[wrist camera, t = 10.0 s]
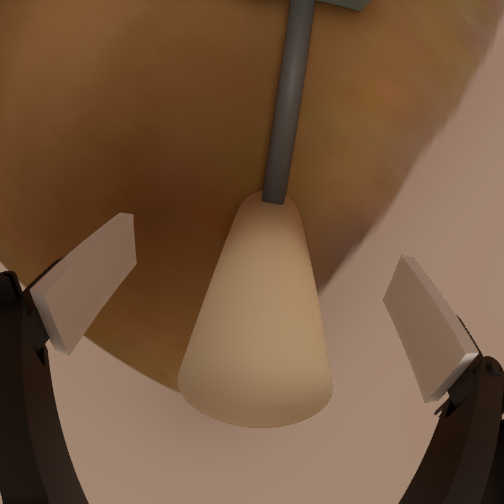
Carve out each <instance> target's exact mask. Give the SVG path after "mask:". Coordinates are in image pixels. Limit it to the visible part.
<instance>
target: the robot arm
mask: <svg viewBox="0 0 504 504" xmlns="http://www.w3.org/2000/svg"><path fill="white" fill-rule="evenodd" d="M136 264H137V261H136V250H135V237H134V221H133V214H128V213H119V214H117V215H116V216H115V217H113V218H112V219H111V220H109V221H108V222H107V223H106V224H104V225H103V226H102V227H100V228H99V229H98V230H97V231H95V232H94V233H93V234H92V235H90V236H89V237H88V238H87V239H85V240H84V241H83V242H82V243H81V244H79V245H78V246H77V247H76V248H75V249H73V250H72V251H71V252H70V253H69V254H68V255H67V256H64V257H62V258H60V259H58V260H56V261H55V262H54V263H53V264H51V265H50V266H49V267H48V269H46V270H45V271H44V272H43V273H42V274H40V275H39V276H38V277H37V278H36V279H35V280H34V281H33V282H32V283H31V284H30V285H29V286H28V287H27V288H26V289H25V290H24V291H23V292H22V289H21V286H20V284H19V281H18V278H17V275H16V273H15V272H13V271H4V272H1V273H0V492H1V496H2V501H3V504H89V503H88V501H87V499H86V497H85V495H84V492H83V490H82V488H81V485H80V483H79V480H78V478H77V475H76V472H75V470H74V467H73V464H72V461H71V458H70V456H69V452H68V449H67V446H66V443H65V439H64V436H63V432H62V428H61V424H60V421H59V417H58V412H57V407H56V403H55V397H54V393H53V387H52V380H51V374H50V367H49V359H48V350H47V348H46V345H45V343H46V342H47V341H48V339H50V341H51V343H52V345H53V347H54V349H55V350H58V351H60V352H62V353H64V354H67V355H70V354H71V352H72V350H73V349H74V348H75V346H76V345H77V343H78V342H79V340H80V339H81V337H82V336H83V334H84V333H85V332H86V330H87V329H88V327H89V326H90V324H91V323H92V322H93V320H94V319H95V317H96V316H97V315H98V313H99V312H100V311H101V309H102V308H103V306H104V305H105V304H106V302H107V301H108V300H109V298H110V297H111V296H112V294H113V293H114V292H115V291H116V289H117V288H118V287H119V285H120V284H121V283H122V281H123V280H124V279H125V278H126V276H127V275H128V274H129V273H130V271H131V270H132V269H133V268H134V266H135V265H136ZM383 301H384V303H385V305H386V308H387V310H388V312H389V314H390V316H391V319H392V321H393V323H394V325H395V327H396V330H397V332H398V334H399V337H400V339H401V341H402V344H403V346H404V348H405V351H406V353H407V356H408V358H409V361H410V364H411V366H412V369H413V371H414V374H415V377H416V379H417V382H418V385H419V388H420V391H421V393H422V396H423V399H424V402H425V403H426V402H433V401H438V400H439V399H440V398H441V397H442V396H443V395H444V394H445V393H446V392H447V391H448V394H449V396H450V397H449V398H448V399H447V400H446V401H445V402H444V403H443V404H442V406H440V407H439V408H438V409H437V410H436V412H435V413H434V414H435V415H436V414H438V413H439V412H440V411H442V412H441V415H440V416H439V417H440V418H439V421H438V424H437V426H436V429H435V431H434V434H433V437H432V439H431V441H430V444H429V446H428V448H427V451H426V453H425V455H424V457H423V459H422V461H421V464H420V466H419V468H418V470H417V472H416V474H415V475H414V477H413V479H412V481H411V483H410V485H409V487H408V489H407V490H406V492H405V494H404V495H403V497H402V499H401V500H400V502H399V504H504V419H503V420H502V414H503V413H504V371H503V368H502V367H501V365H500V364H499V362H498V361H497V360H495V359H494V358H492V357H490V356H485V357H483V355H482V353H481V351H480V350H479V348H478V346H477V345H476V343H475V341H474V340H473V338H472V336H471V335H469V332H468V330H467V328H465V325H464V324H463V322H462V321H461V319H460V318H459V317H458V316H457V315H456V314H455V313H454V311H453V310H452V308H451V307H450V305H449V304H448V303H447V301H446V300H445V298H444V297H443V296H442V294H441V293H440V291H439V290H438V289H437V287H436V286H435V285H434V283H433V282H432V280H431V279H430V278H429V276H428V275H427V274H426V272H425V271H424V270H423V269H422V267H421V266H420V265H419V263H418V262H417V261H416V260H415V258H414V257H410V256H405V255H401V258H400V260H399V263H398V265H397V268H396V270H395V273H394V275H393V278H392V280H391V282H390V285H389V287H388V289H387V292H386V294H385V296H384V298H383Z"/></svg>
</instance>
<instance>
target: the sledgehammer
mask: <svg viewBox="0 0 504 504" xmlns="http://www.w3.org/2000/svg"><path fill="white" fill-rule="evenodd" d="M316 1H321V2H326V3H330V4H334V5H338V6H342V7H346V8H349V9H353V10H356V11H361V10H362V9H363V8H364V7H365V6H366V5H367V4H368V3H369V1H370V0H316ZM314 4H315V0H291V2H290V9H289V16H288V23H287V29H286V36H285V43H284V50H283V57H282V64H281V71H280V77H279V84H278V91H277V98H276V105H275V111H274V118H273V125H272V132H271V138H270V145H269V152H268V159H267V165H266V172H265V179H264V186H263V190H262V191H258V192H255V193H253V194H251V195H249V196H248V197H247V198H245V199H244V201H243V202H242V203H241V204H240V206H239V208H238V210H237V213H236V215H235V218H234V221H233V223H232V226H231V228H230V231H229V234H228V236H227V239H226V242H225V244H224V247H223V249H222V252H221V255H220V257H219V260H218V263H217V266H216V268H215V271H214V274H213V276H212V279H211V282H210V285H209V287H208V290H207V293H206V296H205V298H204V301H203V304H202V307H201V310H200V312H199V315H198V318H197V321H196V324H195V327H194V329H193V332H192V335H191V338H190V341H189V344H188V347H187V350H186V353H185V356H184V359H183V361H182V364H181V367H180V370H179V374H178V378H177V381H178V387H179V390H180V392H181V394H182V395H183V397H184V398H185V399H186V401H188V403H189V404H191V405H192V406H193V407H194V408H196V409H197V410H198V411H200V412H201V413H203V414H205V415H207V416H209V417H211V418H213V419H216V420H218V421H221V422H225V423H228V424H232V425H236V426H243V427H251V428H271V427H281V426H286V425H290V424H294V423H297V422H301V421H303V420H305V419H308V418H310V417H312V416H313V415H315V414H316V413H318V412H319V411H320V410H322V409H323V408H324V407H325V406H326V404H327V403H328V402H329V400H330V398H331V395H332V388H333V387H332V379H331V373H330V365H329V359H328V352H327V346H326V340H325V334H324V329H323V323H322V318H321V311H320V306H319V301H318V295H317V290H316V285H315V280H314V275H313V271H312V266H311V261H310V256H309V252H308V247H307V243H306V238H305V234H304V229H303V225H302V221H301V217H300V213H299V210H298V208H297V206H296V204H295V203H294V202H293V200H291V199H290V198H289V197H288V196H286V190H287V184H288V178H289V173H290V167H291V161H292V155H293V149H294V143H295V137H296V131H297V124H298V118H299V112H300V105H301V99H302V92H303V86H304V79H305V72H306V65H307V58H308V51H309V43H310V36H311V28H312V20H313V12H314Z"/></svg>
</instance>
